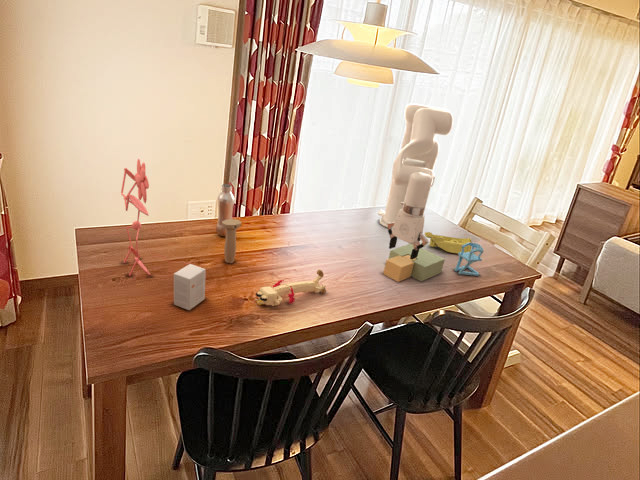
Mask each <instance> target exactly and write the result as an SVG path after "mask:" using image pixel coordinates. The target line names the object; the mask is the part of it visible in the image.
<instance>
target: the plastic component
mask: <svg viewBox="0 0 640 480" xmlns="http://www.w3.org/2000/svg"><path fill="white" fill-rule="evenodd" d="M424 236H425V237H426V239H427V238H428V239H430V240H429V247H432V248H440V249H441V250H444V252H448V253H450V254H458V253H460V252H461V251H462V245H464V244H466V243H472V238H471V237H466V238H465V237H464V238H463V237H461V238H459V237H453V236H452V237H451V236H444V235H438V234H433V233H432V232H430V231H425V232H424ZM471 249H472V246H470V245H468V246H466V247H464V252H463V253H465V252H470V251H471Z"/></svg>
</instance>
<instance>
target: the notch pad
mask: <svg viewBox="0 0 640 480" xmlns="http://www.w3.org/2000/svg"><path fill="white" fill-rule="evenodd" d="M413 249H414V247H413V244H410V243H408V244H405V245H402V246H399V247H397V248H396V247H395V248H392V249H390V251H389V255H388V259H390V258H393V257H396V256H398V255H400V256H402V257H403V256H406V255H409V256H411V253H412V250H413ZM445 260H446V259H445V258H444V257H443V256H440V255H438V254H436V253H433V252H431V251H430V250H426V249H424V248H421V249H419V252H418V256H417V257H416V260H415V261H413V262H414V266H413V269H412V273H411V277H410V278H413V279H415V280H417V281H419V282H423V281H426V280H428V279H430V278H432V277H434V276H438V275H439V274H441V273H442V271H443V267H444V263H445Z"/></svg>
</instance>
